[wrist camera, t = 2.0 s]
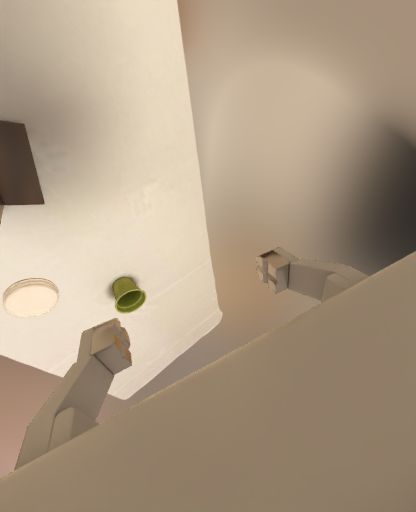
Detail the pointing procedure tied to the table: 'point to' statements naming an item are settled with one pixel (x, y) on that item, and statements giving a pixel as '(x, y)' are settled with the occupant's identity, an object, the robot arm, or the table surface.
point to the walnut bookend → (17, 168)
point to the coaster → (30, 298)
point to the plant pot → (128, 295)
